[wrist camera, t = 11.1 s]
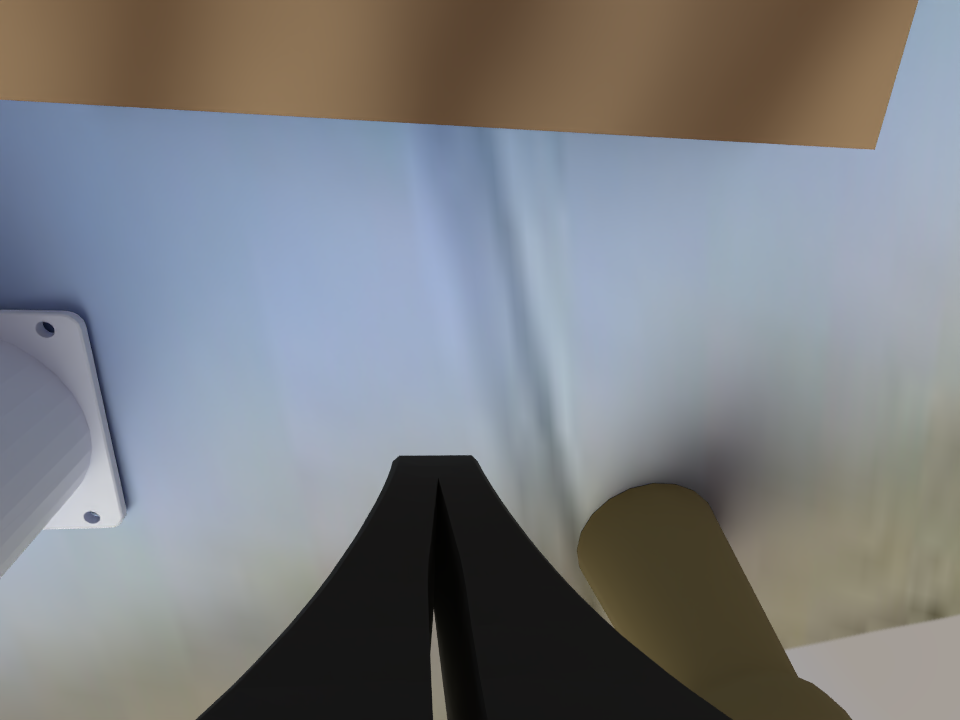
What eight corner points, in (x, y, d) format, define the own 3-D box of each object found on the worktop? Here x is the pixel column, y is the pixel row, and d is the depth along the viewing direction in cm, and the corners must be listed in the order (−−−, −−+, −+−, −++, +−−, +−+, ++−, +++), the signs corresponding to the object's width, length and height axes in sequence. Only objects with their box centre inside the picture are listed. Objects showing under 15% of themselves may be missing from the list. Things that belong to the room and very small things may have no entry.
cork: (548, 566, 25) (645, 883, 15) (638, 459, 23) (818, 733, 13) (654, 615, 26) (804, 926, 16) (744, 519, 25) (973, 800, 15)
